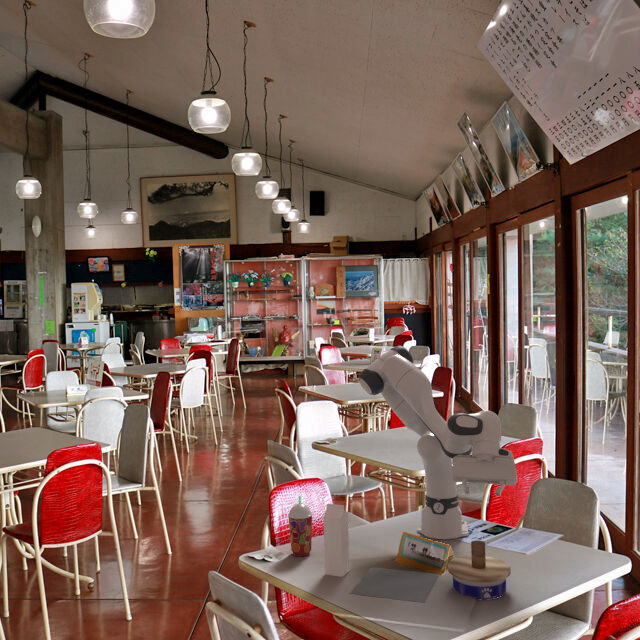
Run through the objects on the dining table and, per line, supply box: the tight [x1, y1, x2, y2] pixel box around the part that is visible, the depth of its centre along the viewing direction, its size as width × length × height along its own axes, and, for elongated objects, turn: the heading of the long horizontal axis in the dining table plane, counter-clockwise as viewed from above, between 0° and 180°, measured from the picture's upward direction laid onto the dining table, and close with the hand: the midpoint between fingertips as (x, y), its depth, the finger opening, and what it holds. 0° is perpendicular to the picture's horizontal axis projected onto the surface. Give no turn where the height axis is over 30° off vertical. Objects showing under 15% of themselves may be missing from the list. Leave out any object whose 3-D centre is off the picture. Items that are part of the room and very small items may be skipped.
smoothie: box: [287, 495, 313, 557], centre depth 241 cm, size 8×8×20 cm
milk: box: [322, 503, 351, 578], centre depth 221 cm, size 6×6×22 cm
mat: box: [349, 566, 441, 604], centre depth 210 cm, size 22×22×1 cm
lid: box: [447, 539, 511, 582], centre depth 206 cm, size 18×18×8 cm
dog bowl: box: [452, 576, 507, 600], centre depth 206 cm, size 15×15×6 cm
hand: (482, 494), depth 217 cm, fingers open, 8 cm apart
